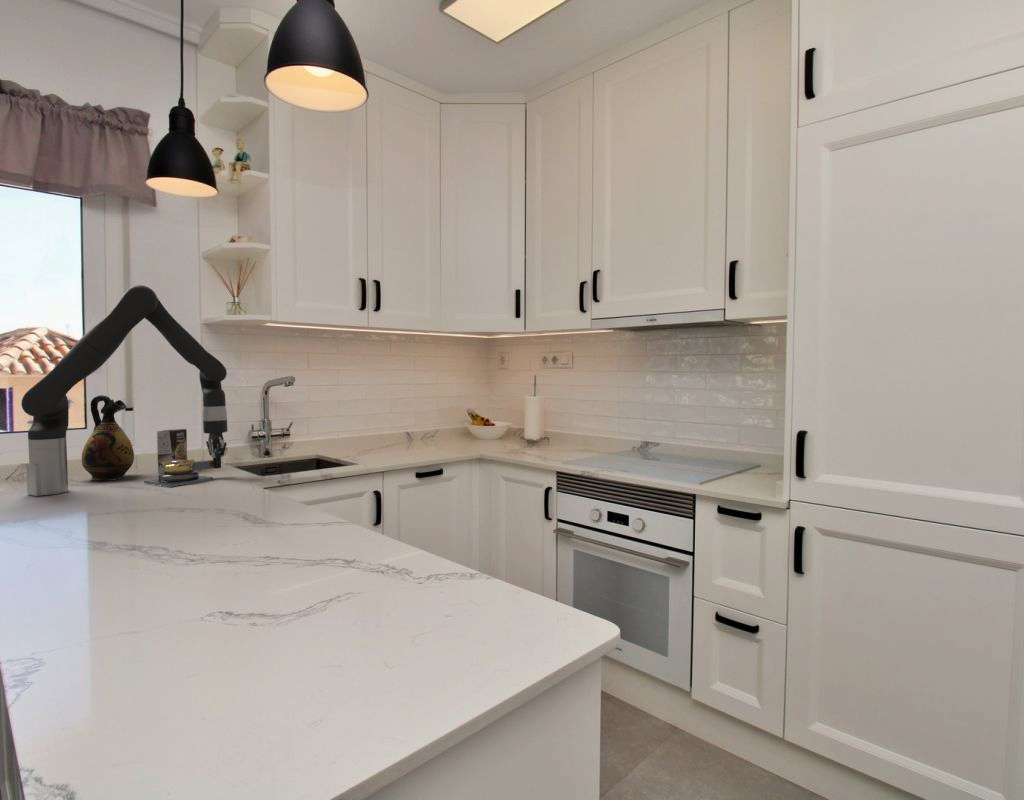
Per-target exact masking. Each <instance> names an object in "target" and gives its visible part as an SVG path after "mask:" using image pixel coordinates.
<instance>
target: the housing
mask: <svg viewBox="0 0 1024 800" xmlns="http://www.w3.org/2000/svg"><path fill="white" fill-rule="evenodd" d="M182 461H183V462H184V463H186V460H173V461H171V464H177V462H182ZM199 471H200V470H194V472H191V473H186V474H175V475H167V474H163V473H158V474H157V475H158V477H157V478H153V479H146V480H143V484H144V483H149V484H155V485H154V486H156V485H161V486H160V487H163V486H167V487H166V488H169V487H170V488H174V487H173V486H176V487H179V486H178V485H182V486H185V485H184V484H188V485H193V484H197V483H198V482H199V483H204V481H205V482H209V480H211V481H214V477H213V476H206V475H200V472H199ZM192 483H193V484H192ZM199 483H198V484H199ZM149 484H148V485H149Z"/></svg>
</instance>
